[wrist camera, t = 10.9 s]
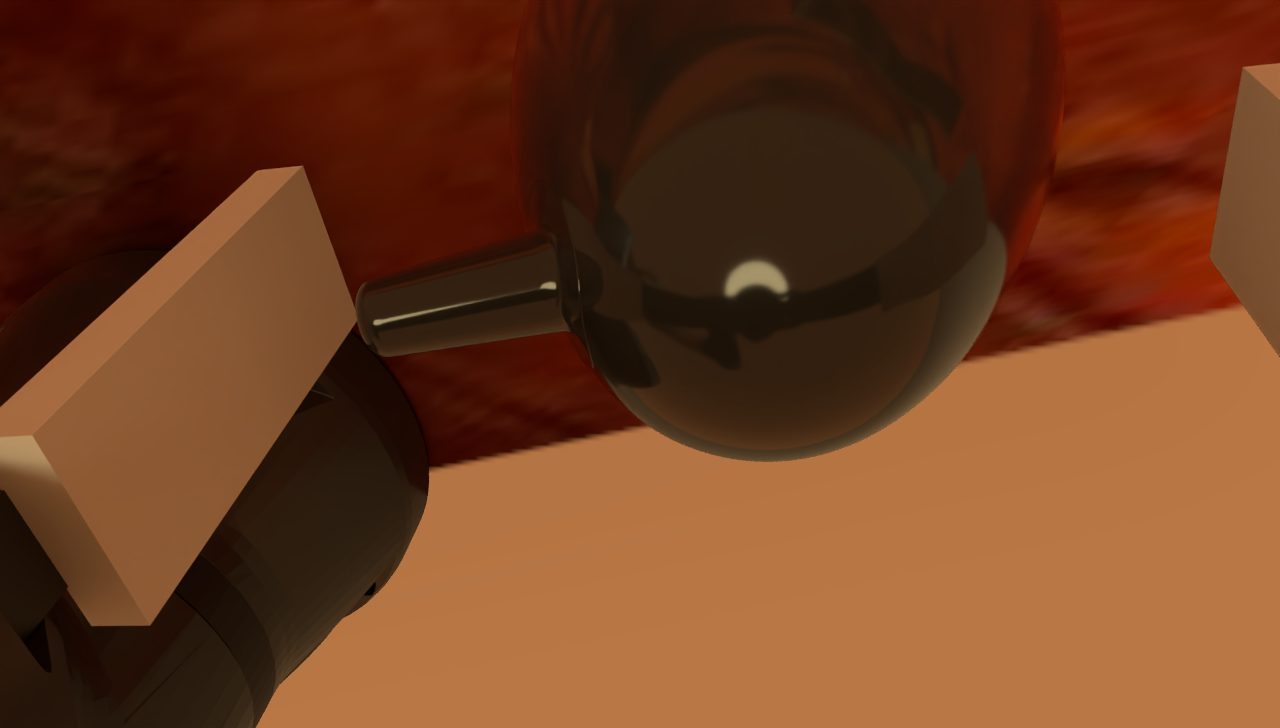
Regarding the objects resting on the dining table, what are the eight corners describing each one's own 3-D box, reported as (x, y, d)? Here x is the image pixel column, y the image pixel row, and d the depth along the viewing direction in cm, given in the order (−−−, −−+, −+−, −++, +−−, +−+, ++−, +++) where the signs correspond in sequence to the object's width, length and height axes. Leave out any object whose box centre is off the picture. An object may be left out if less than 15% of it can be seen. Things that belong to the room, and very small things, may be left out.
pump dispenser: (534, -225, 22) (159, -71, 9) (1041, -283, 20) (1405, -188, 7) (596, 204, 27) (414, 648, 15) (994, 190, 25) (1156, 685, 13)
